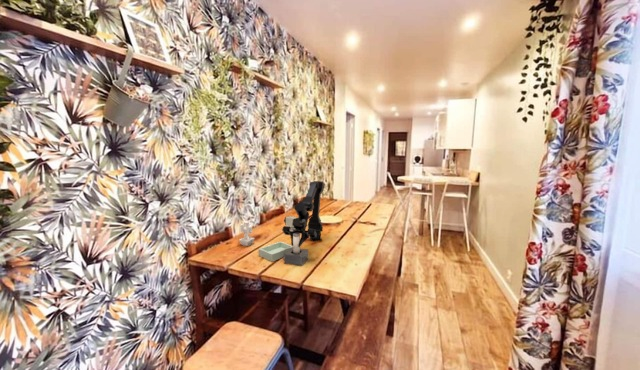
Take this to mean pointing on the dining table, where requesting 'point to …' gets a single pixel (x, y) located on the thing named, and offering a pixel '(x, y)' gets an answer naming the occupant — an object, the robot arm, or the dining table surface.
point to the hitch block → (296, 257)
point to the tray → (274, 251)
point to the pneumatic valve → (290, 221)
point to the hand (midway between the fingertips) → (295, 246)
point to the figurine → (246, 234)
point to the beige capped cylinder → (296, 243)
